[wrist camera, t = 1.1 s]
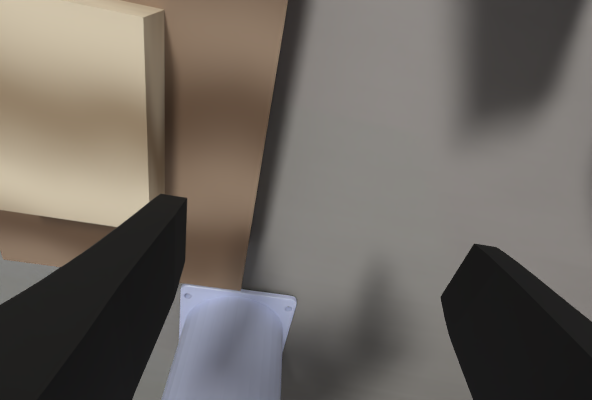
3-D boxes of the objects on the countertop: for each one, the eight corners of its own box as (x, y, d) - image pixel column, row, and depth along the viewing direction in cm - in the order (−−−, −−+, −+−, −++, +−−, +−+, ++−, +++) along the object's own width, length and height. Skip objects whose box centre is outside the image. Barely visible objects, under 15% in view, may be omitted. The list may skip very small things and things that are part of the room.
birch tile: (164, 204, 16) (150, 231, 15) (24, 182, 16) (-8, 208, 14) (164, 9, 12) (143, 17, 10) (-31, -33, 11) (-86, -31, 10)
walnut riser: (248, 242, 23) (240, 291, 19) (48, 213, 21) (3, 259, 18) (309, -131, 13) (314, -163, 10) (-50, -227, 12) (-186, -302, 8)
